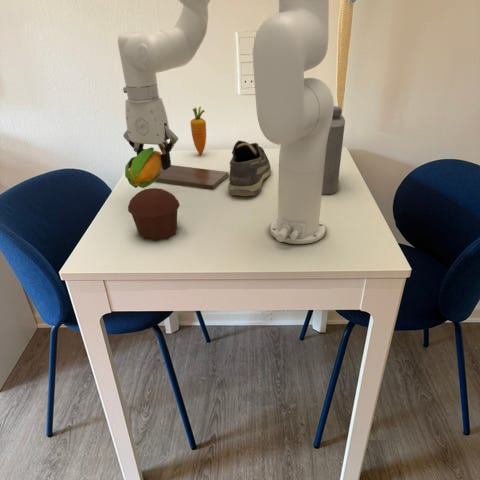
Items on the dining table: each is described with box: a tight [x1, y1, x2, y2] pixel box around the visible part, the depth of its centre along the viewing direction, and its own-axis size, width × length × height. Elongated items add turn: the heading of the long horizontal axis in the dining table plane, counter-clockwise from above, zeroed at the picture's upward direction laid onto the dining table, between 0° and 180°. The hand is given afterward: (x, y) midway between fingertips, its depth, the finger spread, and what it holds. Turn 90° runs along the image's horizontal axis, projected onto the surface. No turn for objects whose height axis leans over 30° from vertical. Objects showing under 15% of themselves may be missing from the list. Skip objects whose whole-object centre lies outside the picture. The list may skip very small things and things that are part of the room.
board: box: [154, 164, 230, 190], centre depth 131 cm, size 11×23×1 cm, turn 67°
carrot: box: [190, 106, 207, 156], centre depth 142 cm, size 5×5×15 cm
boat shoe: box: [227, 140, 272, 197], centre depth 125 cm, size 11×29×11 cm, turn 174°
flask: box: [322, 105, 346, 195], centre depth 118 cm, size 15×6×20 cm, turn 176°
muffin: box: [127, 187, 181, 242], centre depth 101 cm, size 12×11×10 cm
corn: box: [124, 147, 162, 189], centre depth 112 cm, size 7×8×20 cm
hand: (155, 166), depth 117 cm, fingers closed on corn, 6 cm apart
